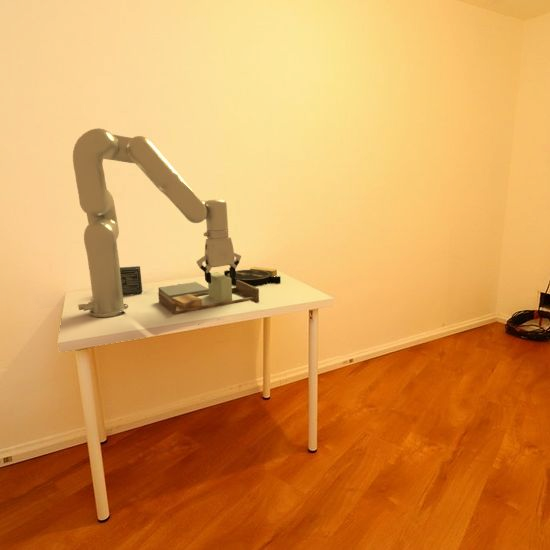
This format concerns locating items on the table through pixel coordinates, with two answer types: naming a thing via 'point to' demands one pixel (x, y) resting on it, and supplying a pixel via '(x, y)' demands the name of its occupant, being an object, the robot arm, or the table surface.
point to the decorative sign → (255, 276)
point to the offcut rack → (240, 288)
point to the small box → (131, 280)
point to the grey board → (183, 289)
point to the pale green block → (220, 287)
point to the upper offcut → (187, 301)
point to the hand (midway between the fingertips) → (220, 280)
